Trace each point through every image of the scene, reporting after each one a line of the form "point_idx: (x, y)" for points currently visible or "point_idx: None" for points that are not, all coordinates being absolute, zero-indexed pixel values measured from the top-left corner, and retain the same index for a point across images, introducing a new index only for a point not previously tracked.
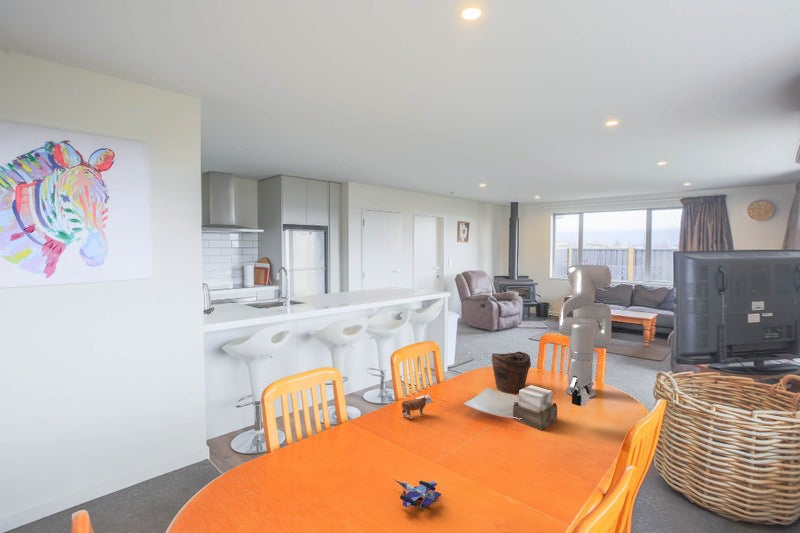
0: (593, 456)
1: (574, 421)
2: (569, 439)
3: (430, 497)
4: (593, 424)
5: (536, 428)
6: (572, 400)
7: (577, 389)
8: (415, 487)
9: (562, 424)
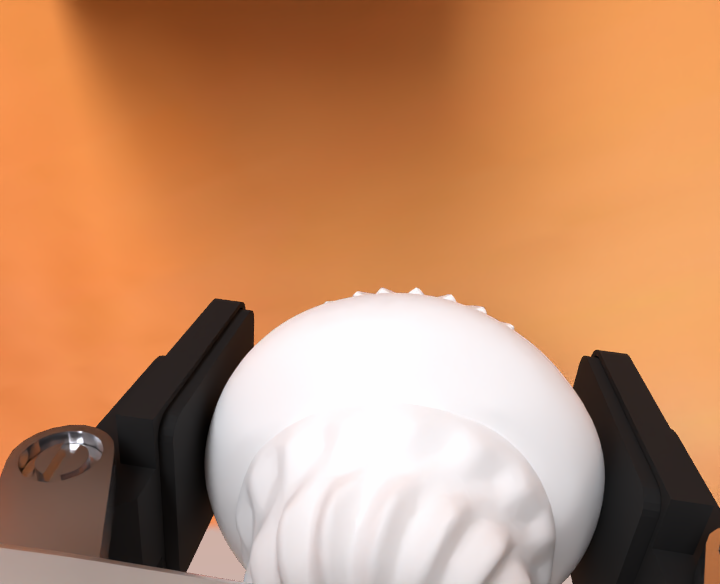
0: (9, 449)
1: (560, 130)
2: (104, 237)
3: None
4: (606, 312)
5: None
6: (194, 335)
7: (279, 562)
8: None
9: (378, 49)
